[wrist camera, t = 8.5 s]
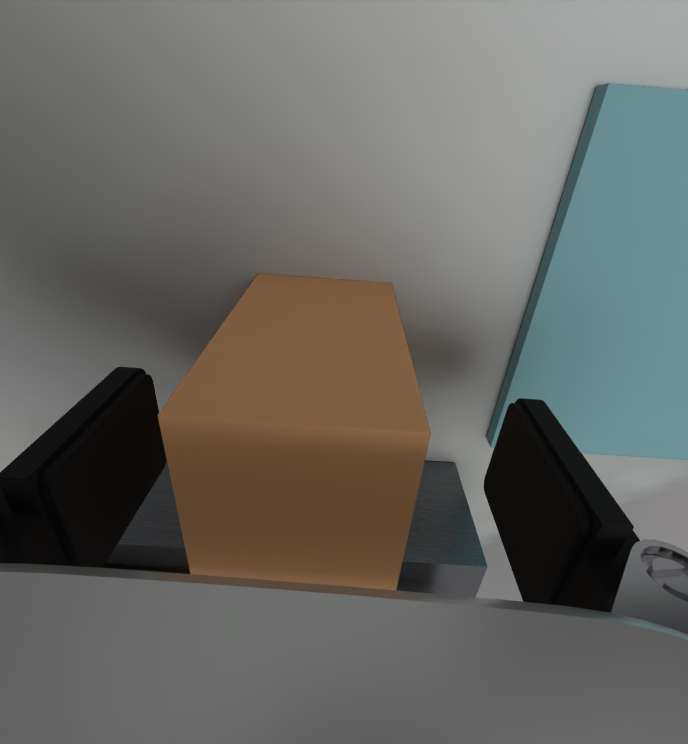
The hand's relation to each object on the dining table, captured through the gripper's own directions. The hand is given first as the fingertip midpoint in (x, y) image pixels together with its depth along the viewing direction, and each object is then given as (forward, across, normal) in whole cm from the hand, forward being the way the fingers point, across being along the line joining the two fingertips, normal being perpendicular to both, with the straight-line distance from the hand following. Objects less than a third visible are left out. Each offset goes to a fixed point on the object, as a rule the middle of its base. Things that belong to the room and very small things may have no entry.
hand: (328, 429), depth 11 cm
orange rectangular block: (+5, +1, 0) cm, 5 cm away
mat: (+5, -11, -2) cm, 13 cm away
